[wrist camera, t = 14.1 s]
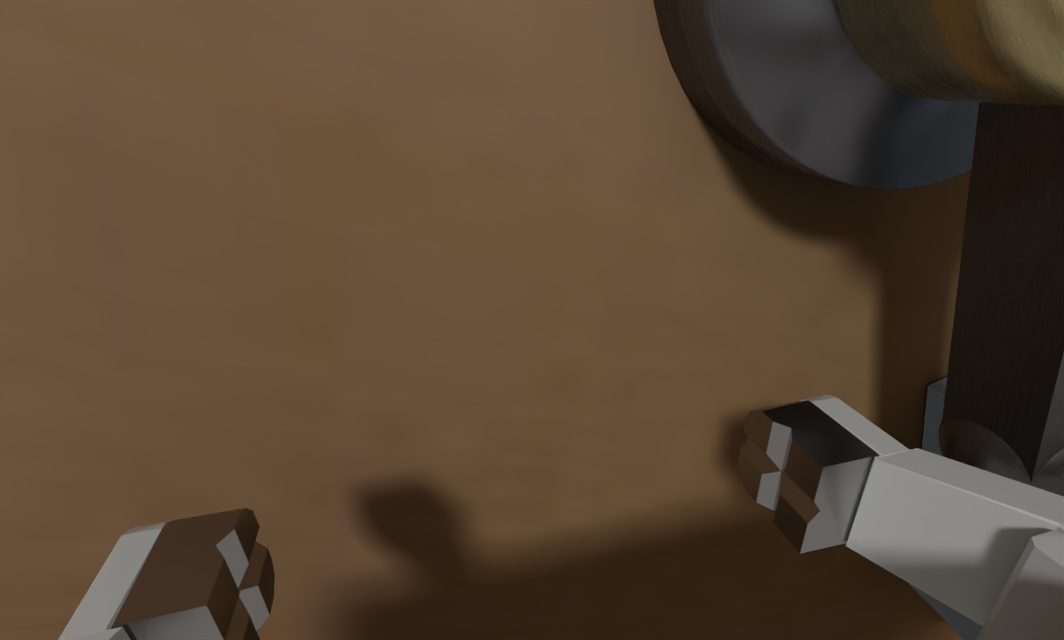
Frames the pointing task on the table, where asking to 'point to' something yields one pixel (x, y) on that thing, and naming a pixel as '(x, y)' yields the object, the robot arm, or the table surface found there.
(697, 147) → the table surface
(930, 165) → the crank base
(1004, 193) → the brass knob crank
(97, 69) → the table surface
